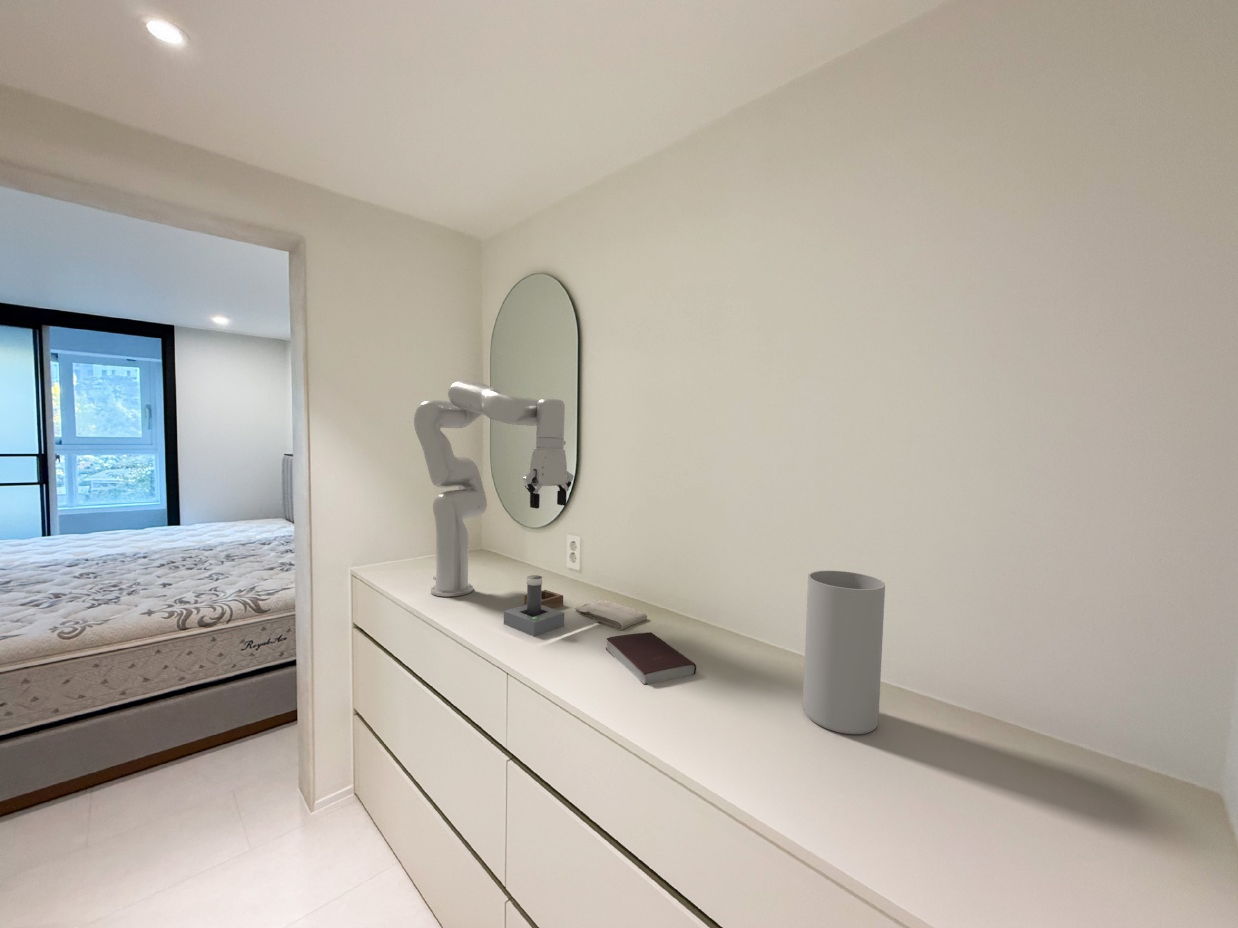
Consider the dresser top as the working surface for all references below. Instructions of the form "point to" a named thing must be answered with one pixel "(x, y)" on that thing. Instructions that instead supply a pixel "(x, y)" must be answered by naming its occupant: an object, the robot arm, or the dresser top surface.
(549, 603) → the holster
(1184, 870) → the dresser top surface
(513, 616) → the port
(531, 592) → the grey and white cylinder
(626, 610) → the washcloth
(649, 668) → the book
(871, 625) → the cylinder vase
